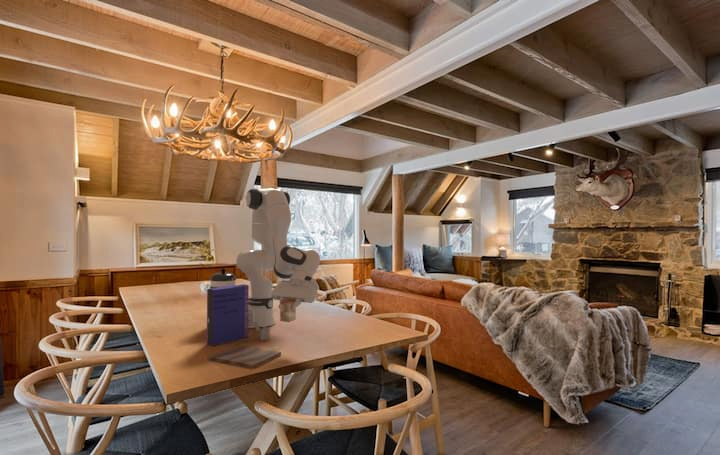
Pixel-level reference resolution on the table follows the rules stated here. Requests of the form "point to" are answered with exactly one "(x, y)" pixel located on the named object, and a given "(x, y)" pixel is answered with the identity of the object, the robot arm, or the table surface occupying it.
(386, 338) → the table surface
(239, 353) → the walnut board
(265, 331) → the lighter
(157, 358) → the table surface
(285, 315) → the birch block
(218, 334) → the cereal box
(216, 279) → the coffee press
